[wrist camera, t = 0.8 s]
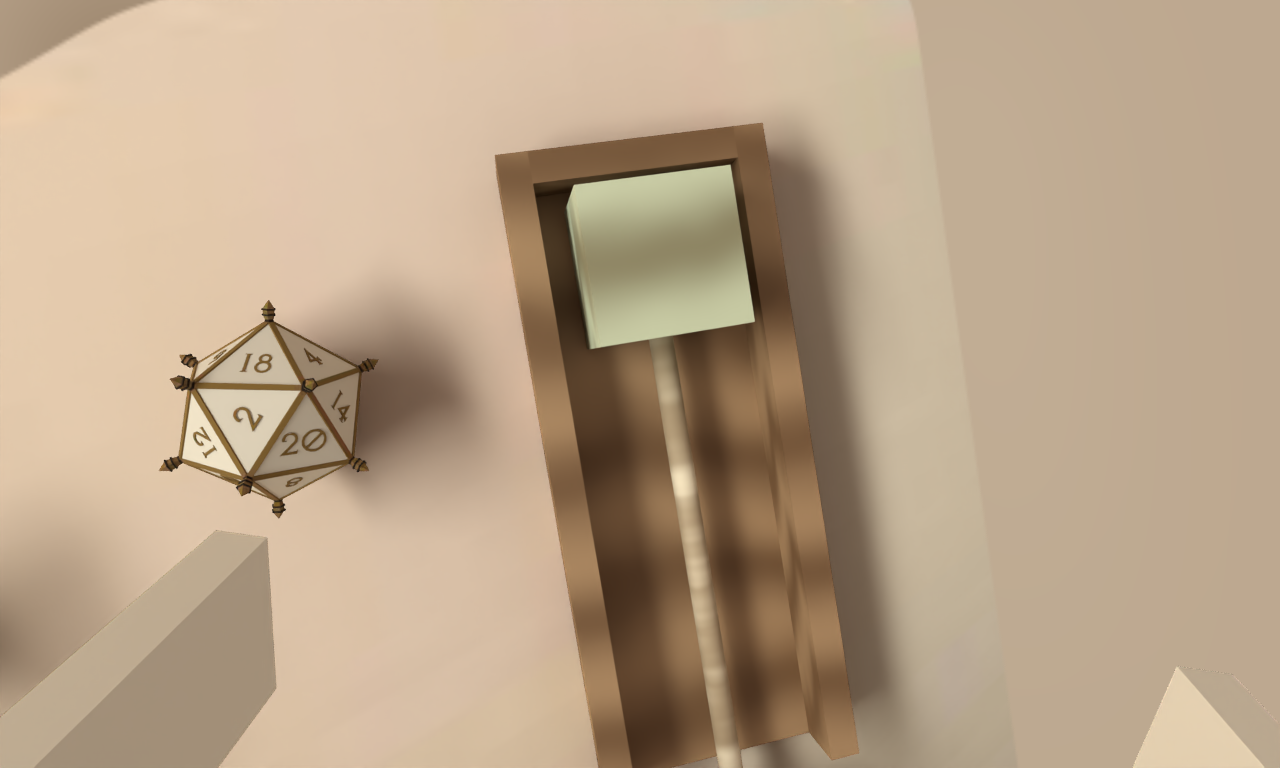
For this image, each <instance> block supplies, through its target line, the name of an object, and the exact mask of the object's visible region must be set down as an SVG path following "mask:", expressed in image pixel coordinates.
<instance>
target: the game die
mask: <svg viewBox="0 0 1280 768" xmlns="http://www.w3.org/2000/svg"><path fill="white" fill-rule="evenodd" d="M261 310H263V314H262V315H263V316H264V318H265V322H263V323H261V324H260V325H258V326H256V327H255V328H253V329H252V330H250V331H248V332H247V333H245V334H243V335H242V336H240V337H238V338H237V339H235V340H233V341H232V342H230V343H228V344H227V345H225V346H224V347H222V348H220V349H219V350H217V351H215V352H214V353H212V354H210V355H209V356H207V357H205V358H204V359H202V360H200V361H199V362H198V361H197V360H196V357H193V356H192V354H189V355H180V358H181V360H182V361H181V363H183V364H184V365H187V366H188V367H189V368H190V367H192V368H193V371H192V374H191V378H190V379H189V378H185V377H184V376H179V375H178V376H177V377H175V378H171V379H170V380H171V381H172V383H173V384H174V386H175V388H176V389H181V391H183V390H188V391H187V398H186V405H185V413H184V420H183V427H182V435H181V442H180V449H179V456H178V457H175V458H172V457H170V459H169V460H164V463H163V465H162V466H161V468H160V470H159V471H171V472H172V471H173V469H175V468H176V469H177V468H178V466H179V465H180V464H182V463H184V464H187V465H189V466H191V467H194V468H196V469H199V470H201V471H204V472H206V473H208V474H211V475H213V476H216V477H218V478H221V479H223V480H225V481H228V482H230V483H233V484H235V485H238V486H237V487H236V488H237V490H238V491H239V492H240V494H241V496H243V495H245V494H247V493H250V492H251V491H252V492H255V493H257V494H259V495H262V496H264V497H267V498H269V499H272V500H274V504H272V506H273V509H272V511H273V513H275V515H276V516H277V517H278V518H280V516H281V515H282V513H283V512H284V511H285V510H286V509H284V506H285V504H283V501H282V500H283V498H285V497H287V496H289V495H291V494H293V493H295V492H297V491H298V490H300V489H302V488H304V487H306V486H308V485H310V484H312V483H313V482H315V481H317V480H319V479H321V478H323V477H325V476H327V475H328V474H330V473H332V472H334V471H336V470H338V469H340V468H342V467H343V466H345V465H347V464H351V465H352V467H353V469H356V470H357V472H359V471H369V469H368V467H367V466H366V462H365V461H362V460H361V459H360V458H359V459H357V458H354V453H355V442H356V431H357V420H358V409H359V397H360V386H361V375H362V372H364V371H368V372H369V370H371V369H374V367H375V365H376V363H377V362H378V360H374V359H368V358H367V360H366V361H362V362H363V363H362V364H360V365H359V366H357V365H355V364H353V363H351V362H350V361H348V360H346V359H344V358H342V357H340V356H338V355H336V354H335V353H333V352H331V351H329V350H327V349H325V348H323V347H321V346H319V345H318V344H316V343H314V342H312V341H310V340H308V339H306V338H304V337H302V336H301V335H299V334H297V333H295V332H293V331H291V330H289V329H287V328H285V327H284V326H282V325H280V324H278V323H276V322H274V320H273V319H274V316H275V313H274V310H275V308H274V307H273V306H272V304H271V303H270V301H269V300H268V301H267V303H266V304H265V306H264V307H263V308H262V309H261Z"/></svg>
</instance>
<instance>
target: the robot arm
mask: <svg viewBox="0 0 1280 768" xmlns="http://www.w3.org/2000/svg"><path fill="white" fill-rule="evenodd" d="M275 689H276V675H275V658H274V641H273V625H272V608H271V591H270V574H269V558H268V541H267V537H260V536H252V535H245V534H238V533H231V532H224V531H217V530H216V531H215V532H214V533H212V534H211V535H210V536H209V537H208V538H207V539H206V540H204V541H203V542H202V543H201V544H200V545H199V546H197V547H196V548H195V549H194V550H193V551H192V552H190V553H189V554H188V555H187V556H186V557H185V558H184V559H182V560H181V561H180V562H179V563H178V564H177V565H175V566H174V567H173V568H172V569H171V570H170V571H169V572H167V573H166V574H165V575H164V576H163V577H162V578H160V579H159V580H158V581H157V582H156V583H155V584H153V585H152V586H151V587H150V588H149V589H148V590H147V591H145V592H144V593H143V594H142V595H141V596H140V597H138V598H137V599H136V600H135V601H134V602H133V603H132V604H130V605H129V606H128V607H127V608H126V609H125V610H123V611H122V612H121V613H120V614H119V615H118V616H116V617H115V618H114V619H113V620H112V621H111V622H110V623H108V624H107V625H106V626H105V627H104V628H103V629H101V630H100V631H99V632H98V633H97V634H96V635H95V636H93V637H92V638H91V639H90V640H89V641H88V642H86V643H85V644H84V645H83V646H82V647H81V648H79V649H78V650H77V651H76V652H75V653H74V654H73V655H71V656H70V657H69V658H68V659H67V660H66V661H64V662H63V663H62V664H61V665H60V666H59V667H58V668H56V669H55V670H54V671H53V672H52V673H51V674H49V675H48V676H47V677H46V678H45V679H44V680H42V681H41V682H40V683H39V684H38V685H37V686H36V687H34V688H33V689H32V690H31V691H30V692H29V693H27V694H26V695H25V696H24V697H23V698H22V699H21V700H19V701H18V702H17V703H16V704H15V705H14V706H12V707H11V708H10V709H9V710H8V711H7V712H5V713H4V714H3V715H2V716H1V717H0V768H218V767H219V766H220V764H221V763H222V762H223V760H224V759H225V758H226V756H227V755H228V753H229V752H230V751H231V749H232V748H233V747H234V745H235V744H236V743H237V741H238V740H239V738H240V737H241V736H242V734H243V733H244V732H245V730H246V729H247V728H248V726H249V725H250V723H251V722H252V721H253V719H254V718H255V717H256V715H257V714H258V713H259V711H260V710H261V708H262V707H263V706H264V704H265V703H266V702H267V700H268V699H269V698H270V696H271V695H272V694H273V692H274V691H275ZM1133 768H1280V724H1279V723H1278V722H1277V721H1276V720H1275V718H1274V717H1273V716H1272V715H1271V714H1270V713H1269V712H1268V711H1267V710H1266V709H1265V708H1264V707H1263V706H1262V705H1261V704H1260V703H1259V702H1258V701H1257V700H1256V699H1255V697H1254V696H1252V694H1251V693H1250V692H1249V691H1248V690H1247V689H1246V688H1245V687H1244V686H1243V685H1242V684H1241V683H1240V682H1239V681H1238V680H1237V679H1236V678H1235V677H1234V676H1233V675H1232V674H1228V673H1222V672H1214V671H1207V670H1200V669H1193V668H1186V667H1179V666H1177V668H1176V670H1175V672H1174V674H1173V677H1172V679H1171V681H1170V683H1169V686H1168V688H1167V690H1166V693H1165V695H1164V697H1163V699H1162V702H1161V704H1160V706H1159V708H1158V711H1157V713H1156V715H1155V718H1154V720H1153V722H1152V724H1151V727H1150V729H1149V732H1148V733H1147V736H1146V738H1145V741H1144V743H1143V745H1142V747H1141V749H1140V752H1139V754H1138V756H1137V758H1136V761H1135V763H1134V765H1133Z"/></svg>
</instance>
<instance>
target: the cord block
mask: <svg viewBox="0 0 1280 768" xmlns="http://www.w3.org/2000/svg"><path fill="white" fill-rule="evenodd" d="M564 213H565V219H566V225H567V231H568V237H569V243H570V249H571V255H572V261H573V267H574V273H575V279H576V285H577V291H578V296H579V302H580V308H581V314H582V320H583V326H584V332H585V338H586V344H587V350H589V349H595V348H601V347H607V346H613V345H619V344H625V343H631V342H637V341H643V340H649V344H650V350H651V356H652V362H653V368H654V374H655V380H656V386H657V392H658V399H659V405H660V411H661V417H662V423H663V429H664V435H665V441H666V447H667V454H668V460H669V466H670V472H671V478H672V484H673V490H674V496H675V502H676V508H677V515H678V521H679V527H680V533H681V539H682V545H683V551H684V557H685V563H686V570H687V576H688V582H689V588H690V594H691V600H692V606H693V612H694V618H695V625H696V631H697V637H698V643H699V649H700V655H701V661H702V667H703V673H704V680H705V686H706V692H707V698H708V704H709V710H710V716H711V722H712V728H713V735H714V741H715V747H716V753H717V759H718V765H719V768H743V766H742V760H741V753H740V747H739V741H738V735H737V729H736V722H735V716H734V710H733V704H732V698H731V692H730V685H729V679H728V673H727V667H726V661H725V655H724V648H723V642H722V636H721V630H720V624H719V618H718V611H717V605H716V599H715V593H714V587H713V580H712V574H711V568H710V562H709V556H708V550H707V543H706V537H705V531H704V525H703V519H702V513H701V506H700V500H699V494H698V488H697V482H696V475H695V469H694V463H693V457H692V451H691V445H690V438H689V432H688V426H687V420H686V414H685V408H684V401H683V395H682V389H681V383H680V377H679V370H678V364H677V358H676V352H675V346H674V340H673V336H674V335H680V334H686V333H692V332H698V331H704V330H710V329H716V328H722V327H728V326H734V325H739V324H745V323H751V322H755V319H754V312H753V306H752V300H751V293H750V287H749V280H748V274H747V268H746V261H745V255H744V248H743V242H742V235H741V229H740V223H739V216H738V210H737V203H736V197H735V191H734V184H733V178H732V171H731V165H725V166H717V167H709V168H702V169H694V170H686V171H678V172H671V173H663V174H655V175H647V176H640V177H632V178H624V179H616V180H609V181H601V182H593V183H585V184H578V185H574V186H573V189H572V192H571V195H570V198H569V201H568V204H567V206H566V209H565V212H564Z"/></svg>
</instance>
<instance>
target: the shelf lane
mask: <svg viewBox="0 0 1280 768" xmlns="http://www.w3.org/2000/svg"><path fill="white" fill-rule="evenodd" d="M495 162H496V174H497V181H498V187H499V193H500V199H501V204H502V210H503V216H504V222H505V228H506V233H507V239H508V245H509V251H510V257H511V262H512V268H513V274H514V280H515V286H516V291H517V297H518V303H519V309H520V315H521V320H522V326H523V332H524V338H525V344H526V349H527V355H528V361H529V367H530V373H531V378H532V384H533V390H534V396H535V401H536V407H537V413H538V419H539V425H540V430H541V436H542V442H543V448H544V454H545V459H546V465H547V471H548V477H549V483H550V488H551V494H552V500H553V506H554V512H555V517H556V523H557V529H558V535H559V541H560V546H561V552H562V558H563V564H564V570H565V575H566V581H567V587H568V593H569V599H570V604H571V610H572V616H573V622H574V628H575V633H576V639H577V645H578V651H579V657H580V662H581V668H582V674H583V680H584V686H585V691H586V697H587V703H588V709H589V715H590V720H591V726H592V732H593V738H594V744H595V749H596V755H597V761H598V767H599V768H672V767H676V766H680V765H684V764H687V763H691V762H695V761H699V760H703V759H707V758H711V757H715V756H717V753H716V747H715V741H714V735H713V728H712V722H711V716H710V710H709V704H708V698H707V692H706V686H705V680H704V673H703V667H702V661H701V655H700V649H699V643H698V637H697V631H696V625H695V618H694V612H693V606H692V600H691V594H690V588H689V582H688V576H687V570H686V563H685V557H684V551H683V545H682V539H681V533H680V527H679V521H678V515H677V508H676V502H675V496H674V490H673V484H672V478H671V472H670V466H669V460H668V454H667V447H666V441H665V435H664V429H663V423H662V417H661V411H660V405H659V399H658V392H657V386H656V380H655V374H654V368H653V362H652V356H651V350H650V344H649V340H643V341H637V342H631V343H625V344H619V345H613V346H607V347H601V348H595V349H589V350H587V344H586V338H585V332H584V326H583V320H582V314H581V308H580V302H579V296H578V291H577V285H576V279H575V273H574V267H573V261H572V255H571V249H570V243H569V237H568V231H567V225H566V219H565V213H564V212H565V209H566V206H567V204H568V201H569V198H570V195H571V192H572V189H573V186H574V185H578V184H585V183H593V182H601V181H609V180H616V179H624V178H632V177H640V176H647V175H655V174H663V173H671V172H678V171H686V170H694V169H702V168H709V167H717V166H725V165H731V171H732V178H733V184H734V191H735V197H736V203H737V210H738V216H739V223H740V229H741V235H742V242H743V248H744V255H745V261H746V268H747V274H748V280H749V287H750V293H751V300H752V306H753V312H754V319H755V322H751V323H745V324H739V325H734V326H728V327H722V328H716V329H710V330H704V331H698V332H692V333H686V334H680V335H674V336H673V340H674V346H675V352H676V358H677V364H678V370H679V377H680V383H681V389H682V395H683V401H684V408H685V414H686V420H687V426H688V432H689V438H690V445H691V451H692V457H693V463H694V469H695V475H696V482H697V488H698V494H699V500H700V506H701V513H702V519H703V525H704V531H705V537H706V543H707V550H708V556H709V562H710V568H711V574H712V580H713V587H714V593H715V599H716V605H717V611H718V618H719V624H720V630H721V636H722V642H723V648H724V655H725V661H726V667H727V673H728V679H729V685H730V692H731V698H732V704H733V710H734V716H735V722H736V729H737V735H738V741H739V747H740V750H742V749H746V748H749V747H753V746H757V745H761V744H765V743H769V742H773V741H777V740H781V739H784V738H788V737H792V736H796V735H800V734H804V733H808V732H809V733H810V734H811V735H812V737H813V738H814V739H815V740H816V741H817V743H818V744H819V745H820V746H821V748H822V749H823V750H824V751H825V753H826V754H827V755H828V756H829V758H830V759H831V760H835V759H839V758H843V757H846V756H850V755H854V754H858V753H859V748H858V742H857V735H856V729H855V722H854V716H853V709H852V703H851V696H850V690H849V683H848V677H847V670H846V664H845V657H844V650H843V644H842V637H841V631H840V624H839V618H838V611H837V605H836V598H835V592H834V585H833V579H832V572H831V566H830V559H829V553H828V546H827V540H826V533H825V527H824V520H823V513H822V507H821V500H820V494H819V487H818V481H817V474H816V468H815V461H814V455H813V448H812V442H811V435H810V429H809V422H808V416H807V409H806V403H805V396H804V390H803V383H802V376H801V370H800V363H799V357H798V350H797V344H796V337H795V331H794V324H793V318H792V311H791V305H790V298H789V292H788V285H787V279H786V272H785V266H784V259H783V253H782V246H781V239H780V233H779V226H778V220H777V213H776V207H775V200H774V194H773V187H772V181H771V174H770V168H769V161H768V155H767V148H766V142H765V135H764V129H763V123H757V124H748V125H740V126H732V127H724V128H715V129H707V130H699V131H690V132H682V133H674V134H666V135H657V136H649V137H641V138H632V139H624V140H616V141H608V142H599V143H591V144H583V145H574V146H566V147H558V148H550V149H541V150H533V151H525V152H516V153H508V154H500V155H495Z"/></svg>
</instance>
